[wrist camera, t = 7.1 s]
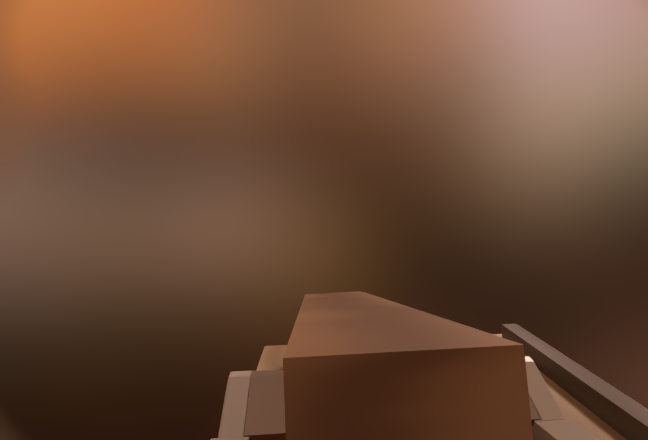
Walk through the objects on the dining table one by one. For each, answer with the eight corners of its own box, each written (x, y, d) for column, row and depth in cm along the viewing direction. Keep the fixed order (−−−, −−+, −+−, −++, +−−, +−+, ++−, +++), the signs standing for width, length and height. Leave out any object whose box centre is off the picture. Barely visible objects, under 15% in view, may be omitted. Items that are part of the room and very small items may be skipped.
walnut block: (292, 629, 7) (282, 357, 7) (307, 352, 30) (305, 294, 31) (550, 609, 7) (523, 344, 7) (364, 349, 31) (361, 291, 31)
